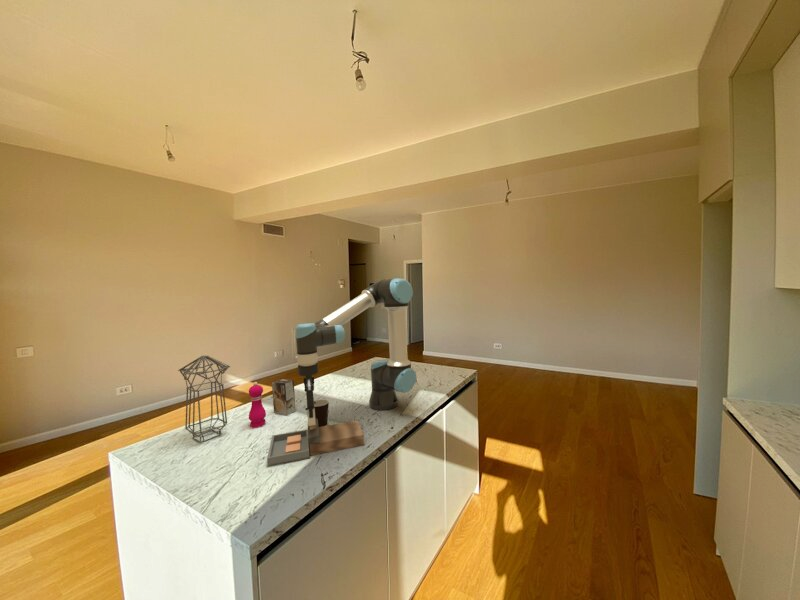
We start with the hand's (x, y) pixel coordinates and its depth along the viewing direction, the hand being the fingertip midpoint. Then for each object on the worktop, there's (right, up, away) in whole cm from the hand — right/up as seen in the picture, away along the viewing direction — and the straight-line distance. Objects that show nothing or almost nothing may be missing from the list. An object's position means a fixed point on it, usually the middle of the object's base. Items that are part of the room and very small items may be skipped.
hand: (311, 423), depth 119 cm
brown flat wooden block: (+9, -8, +3) cm, 13 cm away
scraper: (+1, -4, 0) cm, 4 cm away
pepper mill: (-31, -10, +22) cm, 39 cm away
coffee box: (-24, -9, +35) cm, 44 cm away
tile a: (-7, -7, +1) cm, 10 cm away
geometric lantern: (-48, -11, +13) cm, 51 cm away
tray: (-8, -9, -2) cm, 12 cm away
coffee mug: (-1, -9, +21) cm, 22 cm away
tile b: (-5, -7, -6) cm, 10 cm away
